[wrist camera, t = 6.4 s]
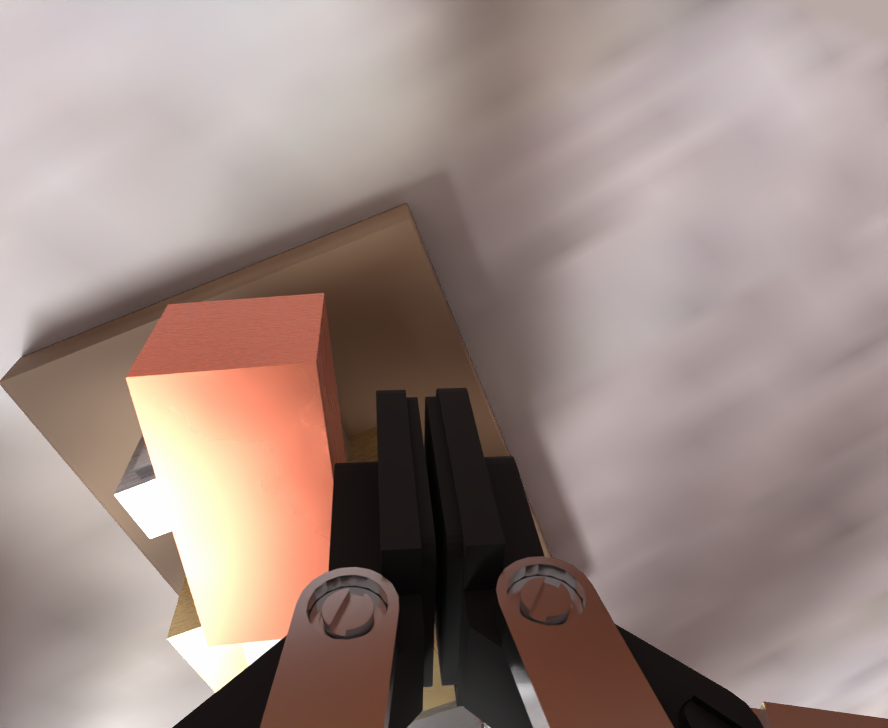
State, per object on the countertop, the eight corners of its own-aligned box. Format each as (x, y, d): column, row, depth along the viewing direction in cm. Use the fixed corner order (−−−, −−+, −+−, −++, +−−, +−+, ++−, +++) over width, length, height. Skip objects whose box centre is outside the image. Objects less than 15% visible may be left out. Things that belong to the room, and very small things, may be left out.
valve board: (565, 591, 29) (575, 619, 28) (285, 685, 31) (282, 717, 29) (407, 203, 20) (410, 219, 19) (20, 357, 22) (-2, 382, 20)
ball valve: (476, 610, 28) (510, 800, 21) (338, 657, 28) (332, 855, 22) (325, 319, 21) (309, 472, 14) (145, 388, 21) (54, 565, 15)
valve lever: (388, 726, 19) (392, 826, 17) (271, 739, 19) (259, 843, 17) (335, 292, 13) (329, 361, 10) (156, 305, 13) (112, 378, 10)
